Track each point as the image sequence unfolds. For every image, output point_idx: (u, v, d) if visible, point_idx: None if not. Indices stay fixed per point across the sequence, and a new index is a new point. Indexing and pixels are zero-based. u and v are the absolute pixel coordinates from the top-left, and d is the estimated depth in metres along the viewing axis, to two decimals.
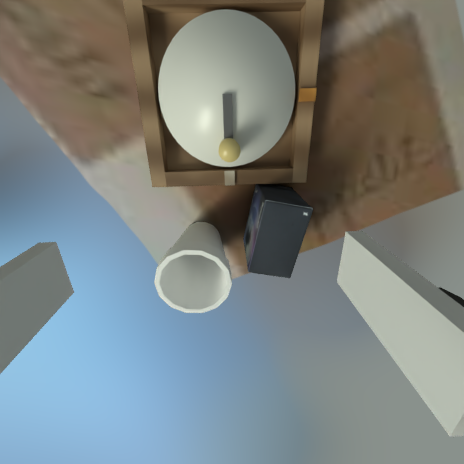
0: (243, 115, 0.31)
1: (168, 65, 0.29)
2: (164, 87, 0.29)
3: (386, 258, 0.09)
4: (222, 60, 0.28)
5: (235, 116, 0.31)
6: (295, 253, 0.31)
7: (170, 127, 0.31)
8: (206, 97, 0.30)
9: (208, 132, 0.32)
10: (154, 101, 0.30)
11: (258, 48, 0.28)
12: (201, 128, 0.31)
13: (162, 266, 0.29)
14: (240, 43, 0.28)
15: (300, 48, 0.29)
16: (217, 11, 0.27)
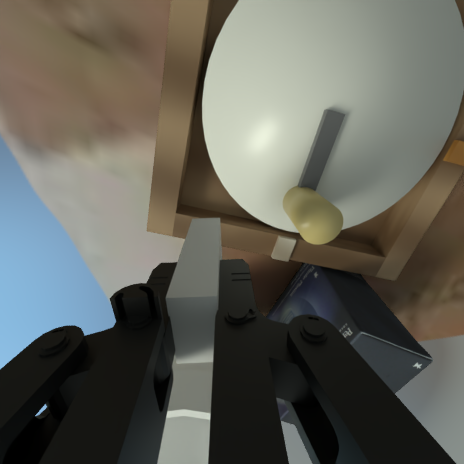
0: (345, 157, 0.17)
1: (243, 21, 0.14)
2: (222, 62, 0.15)
3: (209, 237, 0.11)
4: (349, 46, 0.14)
5: (331, 154, 0.17)
6: None
7: (210, 141, 0.16)
8: (294, 106, 0.16)
9: (275, 168, 0.17)
10: (194, 84, 0.15)
11: (420, 46, 0.14)
12: (264, 158, 0.17)
13: None
14: (395, 24, 0.14)
15: None
16: None
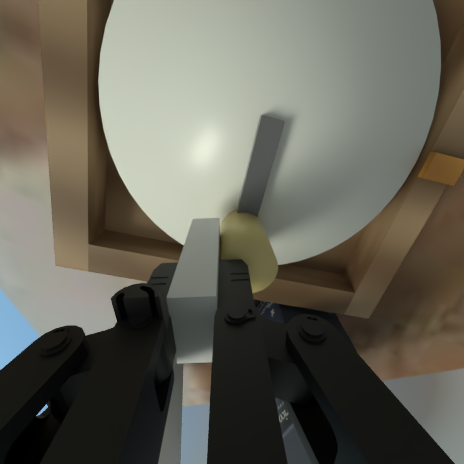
0: (293, 174, 0.13)
1: None
2: (117, 56, 0.11)
3: (209, 237, 0.11)
4: (284, 32, 0.11)
5: (275, 171, 0.13)
6: None
7: (118, 156, 0.13)
8: (220, 111, 0.12)
9: (206, 189, 0.14)
10: (85, 83, 0.11)
11: (379, 30, 0.11)
12: (191, 177, 0.13)
13: None
14: (342, 1, 0.10)
15: (462, 63, 0.12)
16: None
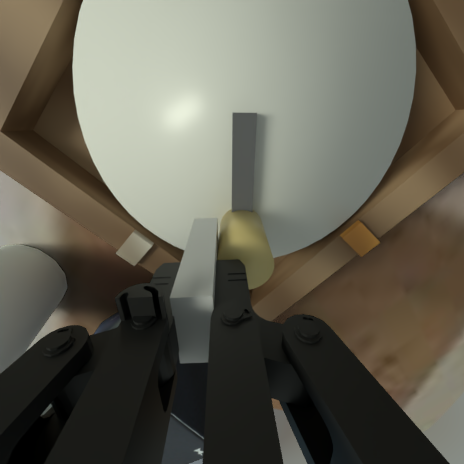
0: (279, 162, 0.13)
1: (94, 35, 0.11)
2: (89, 91, 0.12)
3: (206, 237, 0.11)
4: (236, 26, 0.11)
5: (260, 164, 0.13)
6: None
7: (111, 183, 0.14)
8: (193, 119, 0.12)
9: (197, 195, 0.14)
10: None
11: None
12: (181, 187, 0.14)
13: None
14: None
15: (411, 163, 0.14)
16: None
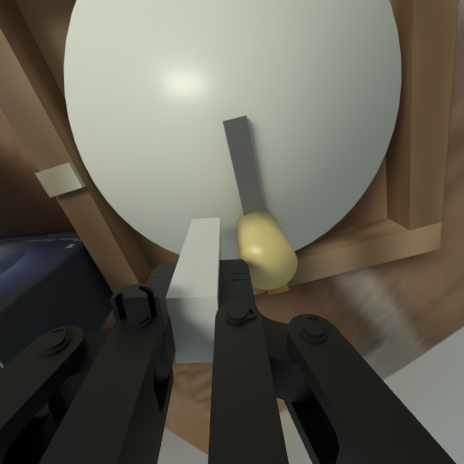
0: (279, 157, 0.13)
1: (81, 84, 0.12)
2: (88, 137, 0.13)
3: (209, 237, 0.11)
4: (207, 39, 0.11)
5: (261, 162, 0.13)
6: None
7: (126, 215, 0.14)
8: (187, 136, 0.13)
9: (208, 207, 0.14)
10: None
11: None
12: (190, 203, 0.14)
13: None
14: None
15: (340, 240, 0.17)
16: None
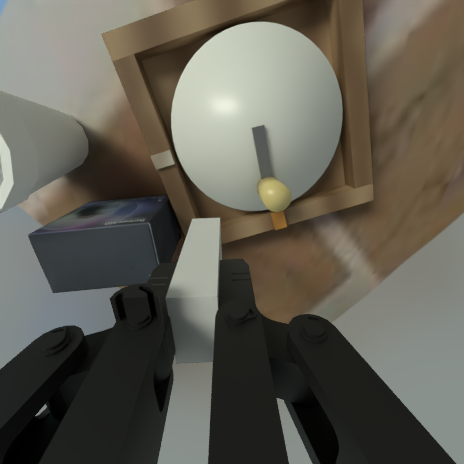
0: (281, 146, 0.25)
1: (180, 109, 0.23)
2: (180, 136, 0.24)
3: (209, 237, 0.11)
4: (245, 87, 0.22)
5: (271, 149, 0.25)
6: (93, 285, 0.22)
7: (195, 180, 0.26)
8: (232, 136, 0.24)
9: (241, 175, 0.26)
10: (228, 19, 0.20)
11: (287, 62, 0.22)
12: (231, 173, 0.26)
13: None
14: (264, 61, 0.22)
15: (317, 196, 0.28)
16: (229, 29, 0.21)
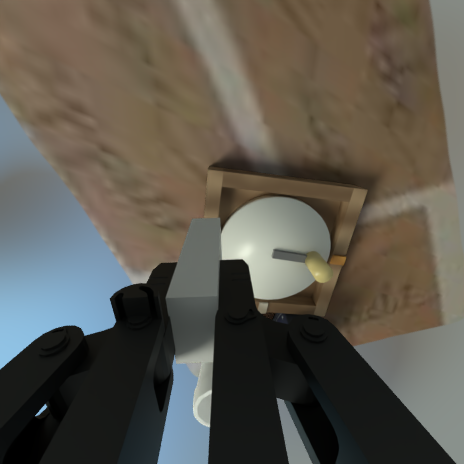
0: (291, 243, 0.36)
1: None
2: (255, 293, 0.39)
3: (209, 237, 0.11)
4: (249, 252, 0.36)
5: (290, 249, 0.36)
6: None
7: (282, 296, 0.39)
8: (270, 268, 0.37)
9: (295, 271, 0.38)
10: None
11: (247, 225, 0.34)
12: (290, 276, 0.38)
13: (203, 396, 0.33)
14: (241, 237, 0.35)
15: (338, 226, 0.36)
16: None
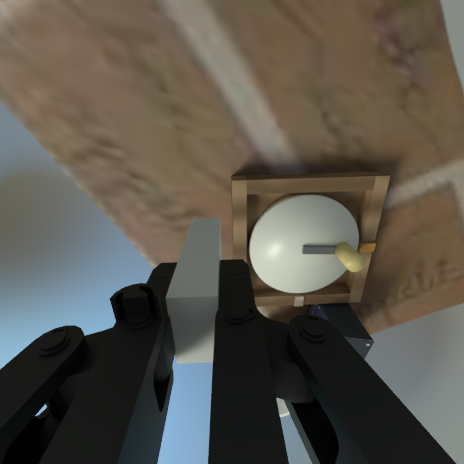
0: (319, 237, 0.37)
1: (277, 285, 0.40)
2: (290, 289, 0.41)
3: (209, 237, 0.11)
4: (279, 251, 0.38)
5: (319, 243, 0.37)
6: None
7: (317, 288, 0.41)
8: (301, 263, 0.39)
9: (326, 263, 0.39)
10: (246, 252, 0.38)
11: (275, 226, 0.36)
12: (322, 268, 0.39)
13: None
14: (270, 238, 0.37)
15: (364, 214, 0.37)
16: (250, 253, 0.38)
